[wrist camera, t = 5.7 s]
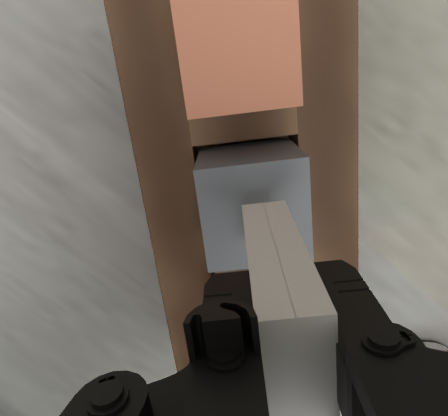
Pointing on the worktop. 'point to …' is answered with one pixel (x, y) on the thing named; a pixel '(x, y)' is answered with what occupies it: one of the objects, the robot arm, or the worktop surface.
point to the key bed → (235, 140)
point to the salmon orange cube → (238, 55)
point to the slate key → (248, 194)
